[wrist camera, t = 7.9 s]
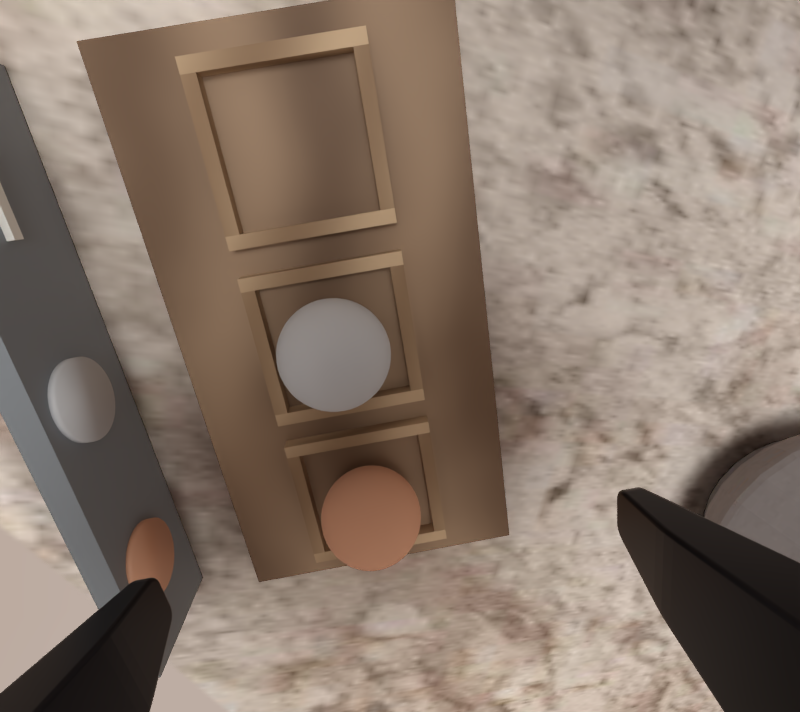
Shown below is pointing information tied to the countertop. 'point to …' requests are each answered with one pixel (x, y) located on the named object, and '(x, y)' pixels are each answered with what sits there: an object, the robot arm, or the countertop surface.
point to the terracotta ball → (371, 518)
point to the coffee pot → (762, 497)
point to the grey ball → (333, 354)
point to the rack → (316, 250)
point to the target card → (77, 396)
